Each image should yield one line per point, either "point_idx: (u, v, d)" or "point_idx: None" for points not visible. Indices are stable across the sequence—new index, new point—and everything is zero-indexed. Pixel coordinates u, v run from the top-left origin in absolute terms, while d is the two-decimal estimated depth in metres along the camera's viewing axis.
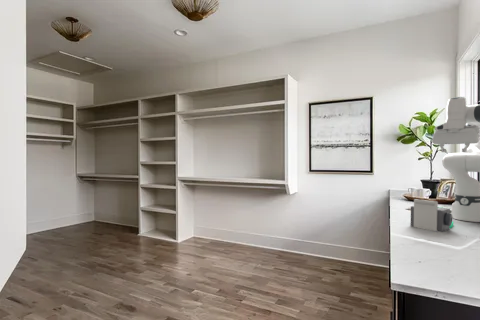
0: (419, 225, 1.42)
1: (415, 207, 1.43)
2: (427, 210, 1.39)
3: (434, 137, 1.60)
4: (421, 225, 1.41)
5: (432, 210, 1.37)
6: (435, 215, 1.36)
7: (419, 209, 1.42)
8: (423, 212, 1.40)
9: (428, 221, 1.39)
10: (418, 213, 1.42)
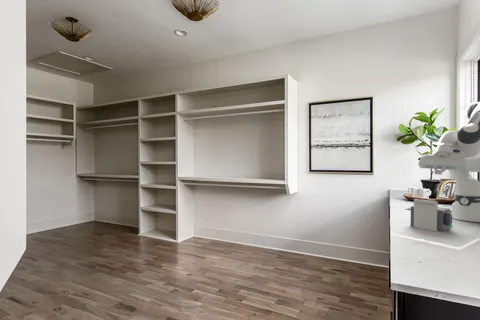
0: (419, 225, 1.42)
1: (415, 207, 1.43)
2: (427, 210, 1.39)
3: None
4: (421, 225, 1.41)
5: (432, 210, 1.37)
6: (435, 215, 1.36)
7: (419, 209, 1.42)
8: (423, 212, 1.40)
9: (428, 221, 1.39)
10: (418, 213, 1.42)
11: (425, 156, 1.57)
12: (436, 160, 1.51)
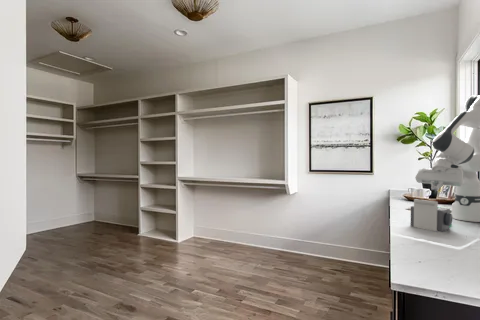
0: (419, 225, 1.42)
1: (415, 207, 1.43)
2: (427, 210, 1.39)
3: None
4: (421, 225, 1.41)
5: (432, 210, 1.37)
6: (435, 215, 1.36)
7: (419, 209, 1.42)
8: (423, 212, 1.40)
9: (428, 221, 1.39)
10: (418, 213, 1.42)
11: (422, 170, 1.53)
12: (433, 175, 1.47)
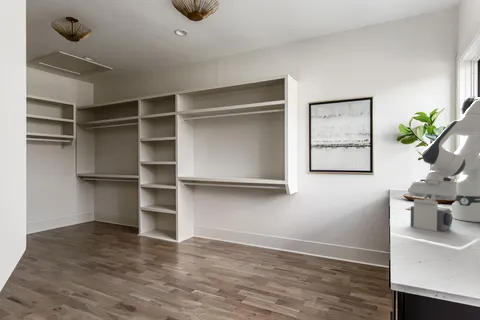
0: (419, 225, 1.42)
1: (415, 207, 1.43)
2: (427, 210, 1.39)
3: None
4: (421, 225, 1.41)
5: (432, 210, 1.37)
6: (435, 215, 1.36)
7: (419, 209, 1.42)
8: (423, 212, 1.40)
9: (428, 221, 1.39)
10: (418, 213, 1.42)
11: (415, 183, 1.50)
12: (426, 188, 1.45)
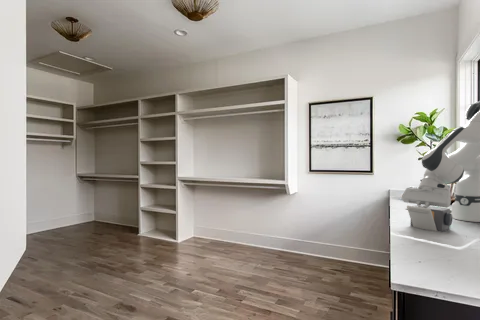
0: (419, 227, 1.42)
1: (410, 213, 1.40)
2: (422, 216, 1.36)
3: None
4: (420, 227, 1.41)
5: (427, 216, 1.34)
6: (432, 220, 1.34)
7: (414, 215, 1.39)
8: (419, 217, 1.38)
9: (426, 224, 1.37)
10: (414, 218, 1.40)
11: (409, 189, 1.46)
12: (420, 195, 1.40)
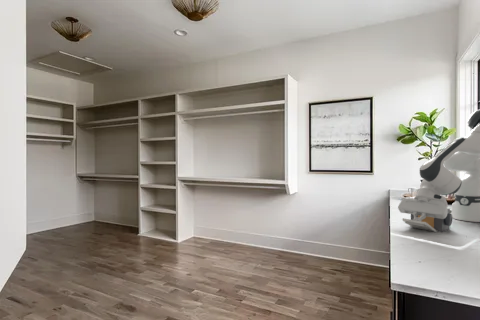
0: None
1: None
2: (420, 225, 1.35)
3: None
4: None
5: None
6: (430, 228, 1.33)
7: None
8: (417, 225, 1.37)
9: (425, 229, 1.37)
10: (412, 225, 1.39)
11: (405, 199, 1.44)
12: (416, 205, 1.38)
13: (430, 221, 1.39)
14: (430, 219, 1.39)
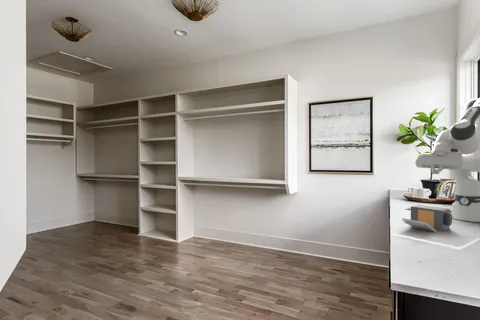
0: None
1: None
2: (420, 225, 1.35)
3: None
4: None
5: None
6: (430, 228, 1.33)
7: None
8: (417, 225, 1.37)
9: (425, 229, 1.37)
10: (412, 225, 1.39)
11: (422, 155, 1.54)
12: (433, 159, 1.48)
13: (430, 221, 1.39)
14: (430, 219, 1.39)
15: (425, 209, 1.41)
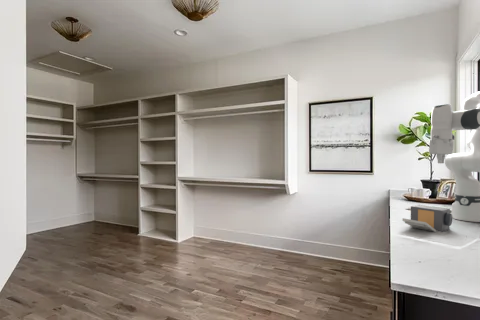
0: None
1: None
2: (420, 225, 1.35)
3: None
4: None
5: None
6: (430, 228, 1.33)
7: None
8: (417, 225, 1.37)
9: (425, 229, 1.37)
10: (412, 225, 1.39)
11: (439, 142, 1.39)
12: (443, 148, 1.43)
13: (430, 221, 1.39)
14: (430, 219, 1.39)
15: (425, 209, 1.41)
